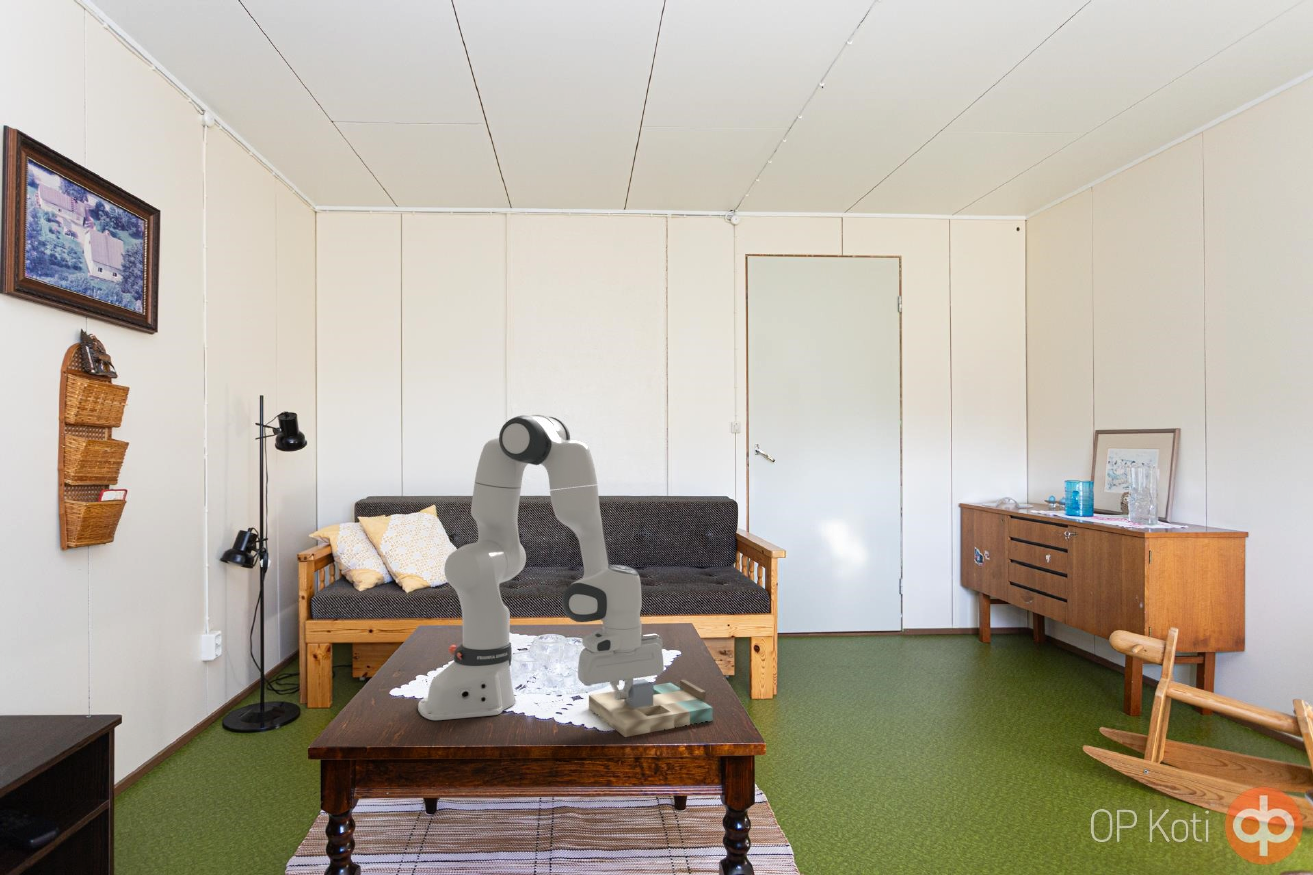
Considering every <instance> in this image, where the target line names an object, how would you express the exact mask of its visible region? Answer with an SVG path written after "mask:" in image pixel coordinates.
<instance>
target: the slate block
mask: <svg viewBox="0 0 1313 875" xmlns="http://www.w3.org/2000/svg"><path fill="white" fill-rule="evenodd" d="M625 683H626V682H625V681H624V684H625ZM654 685H655V684H653V683H651V682H649V681H648V680H646V679H644V678H643V679H635V680H634V679H633V685H632V686H631V688H630V690H629V694H628V699H624V701H625V702H626V703H627V704H629V705H630V706H631V707H633V708H637V707H643V706H649V705H653V689H654Z"/></svg>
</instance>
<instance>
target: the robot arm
mask: <svg viewBox="0 0 1313 875" xmlns="http://www.w3.org/2000/svg"><path fill="white" fill-rule="evenodd" d="M528 465H534V466H539V465H542V467H544V468H545V470H546V472H547V475H548V483H549V484H548V485H549V493H550V494H549V495H550V501H551V506H552V509H553V510H552V511H553V512H554V515H555V518H556V519H557V520H558V521H559V522H560V523H561V524H562V525H563V526H566V527H567V528H569V529H570V530H571V531H573V533H574V534H575V536H576V537H577V539H578V542H579V547H580V554H581V559H582V563H583V569H584V570H583V576H582V578H581V579H578V580H576V581H574V582H572V583H571V584H569V585H568V586H567V587H566V588H565V589H564V591H563V594H562V597H561V605H562V609H563V611H564V613H565V615H566V617H568V618H569V619H570V620H572V621H574V622H576V623H588V622H595V621H596V622H597V621H601V622H602V628H600V629H598V630H596V631H594V632H592V633H590V634H588V635H586V636H584V637H583V638H582V639H581V645H582V646H583V647H584V648H583V649H582V650H581V651H580V653H579V658H578V665H577V666H578V667H577V679H578V680H579V681H580V683H582V684H583V685H585V686H592V685H598V684H605V683H609V685H610V686H611V688H612V689H613V691H614V697H615V699H616V700H621V699H628V694H629V690H630V688H631V686H632V685H633V681H634V679H638V678H639V679H640V678H646V677H652V676H661V675H662V673H663V672H664V669H665V667H664V666H665V664H664V654H663V647H664V646H663V645H664V644H663V639H662V638H663V637H662V636H660V635H658V634H657V633H651V634H642V620H641V616H640V615H641V610H642V603H643V601H642V595H643V594H642V584H641V577H640V575H639V573H638V571H637V570H635V568H632V567H630V566H627V565H623V564H612V565H611V563H610V562H611V561H610V557H609V553H608V547H607V541H606V534H605V530H604V525H603V520H602V514H601V506H600V499H599V498H600V497H599V488H598V480H597V474H596V469H595V464H594V460H593V457H592V453H591V451H590V448H589V446H588V445H587V444H586V443H584V442H583V441H580V440H576V439H571V435H570V430H569V429H568V427H567V426H566V425H565V423H563V422H562V421H561V420H560V419H558V418H556V417H552V416H546V415H540V414H532V415H524V414H523V415H518V416H515V417H513V418H510V419H509V420H507V421H506V422H505V423H504V424H503V425H502V427H501V428H500V431H499V434H498V438H493V439H490V440H488V441H487V442H486V443H485V444H484V446H483V447H482V451H481V453H480V457H479V459H478V464H477V467H476V472H475V477H474V486H473V492H472V498H471V500H472V501H471V509H470V514H471V517H472V518H473V519H474V521H475V522H476V527H477V534H478V538H477V541H476V542H471V543H467V544H465V545H462V546H461V547H459V548H457V549H456V550H454V551H453V552H451V553H450V554H449V555H448V556H447V558H446V561H445V563H444V571H443V572H444V576H445V579H446V582H447V583H448V584H449V585H450V587H452V588H453V589H454V590H455V592H456V594H457V598H458V600H459V603H460V609H461V614H462V615H461V617H462V643H461V644H460V645H459V646H458V647H457V646H456V645H455V644H451V645H449V647H448V652H449V653H450V654H451V655H452V656H453V662H451V663H450V664H449V665H448V666H447V667H445V669H443V670H442V671H441V672H440V673H438V674H437V675H436V676H434V677H433V679H432V680H431V682H430V685H429V688H428V692H427V694H428V695H427V697H424V698H422V699H420V700H419V702H418V705H417V710H418V712H419V714H420V715H421V716H422V717H424V718H425V719H427V720H431V721H442V720H444V721H445V720H453V719H456V720H457V719H466V718H476V717H477V718H479V717H486V716H496V715H499V714H501V713H503V711H504V710H506V709H508V708H510V707H512V706H513V705H514V704H515V703H516V697H515V693H514V690H513V684H512V675H511V665H512V657H513V656H512V655H513V652H512V643H511V641H510V634H511V633H510V628H511V627H510V621H511V620H510V619H511V618H510V617H511V614H510V609H509V607H508V606H506V604H504V602H503V599H502V594H501V590H500V584H502V583H505V582H508V581H510V580H512V579H513V578H515V577H516V576H517V575H519V573H521V572H522V571H523V569H524V567H525V565H526V562H527V554H526V551H525V548H524V547H523V545H522V544H521V541H520V536H519V535H520V534H519V525H518V524H519V522H518V519H519V518H518V514H519V506H520V500H521V499H520V498H521V492H522V485H523V484H522V483H523V476H524V471H525V469H526V468H527V466H528ZM621 681H623V682H624V685H623V688H621V689H620V688H619V687H618V686H619V685H620V682H621ZM625 682H626V683H625Z"/></svg>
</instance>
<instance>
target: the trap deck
mask: <svg viewBox="0 0 1313 875" xmlns="http://www.w3.org/2000/svg"><path fill="white" fill-rule="evenodd" d="M653 685H654V689H653V705H649V706H643V707H637V708H633V707H631V706H630V705H629V704H627V703H626V702H625V701H624V699H621V700H616V699H615V697H614V690H613V691H608V692H601V693H594V694H590V695H588V709H589V708H590V710H591V711H592V710H593V711H594V712H595V713H594V712H593V711H592V712H593V713H594V714H595V715H597V714H598V715H599V716H600V717H599V716H598V715H597V716H598V717H599V718H601V719H602V720H603V719H604V720H605V723H607V724H608V723H609V724H608V725H609V726H610V727H612V728H613V729H614V730H616V731H617V732H618V733H620V734H621V735H622V736H623V737H625V738H628V737H633V736H638V735H644V734H648V733H655V732H659V731H664V729H665V730H670V729H675V727H676V728H681V727H685V725H687V726H691V725H690V724H692V725H695V724H694V723H697V724H702V723H701V722H703V723H706V722H705V721H708V722H712V721H713V720H714V719H713V712H714V711H713V710H714V708H713V706H711V705H709V704H708V703H707V700H706V699H707V698H706V695H707V694H706V693H707V692H706V690H704V689H702V688H701V687H698V686H697V685H695V684H693V683H691V682H690V681H688V680H687V679H680V680H679V686H677V685H676V684H674V683H672V682H666V683H665V682H664V683H659V684H653ZM604 720H603V721H604Z"/></svg>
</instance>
